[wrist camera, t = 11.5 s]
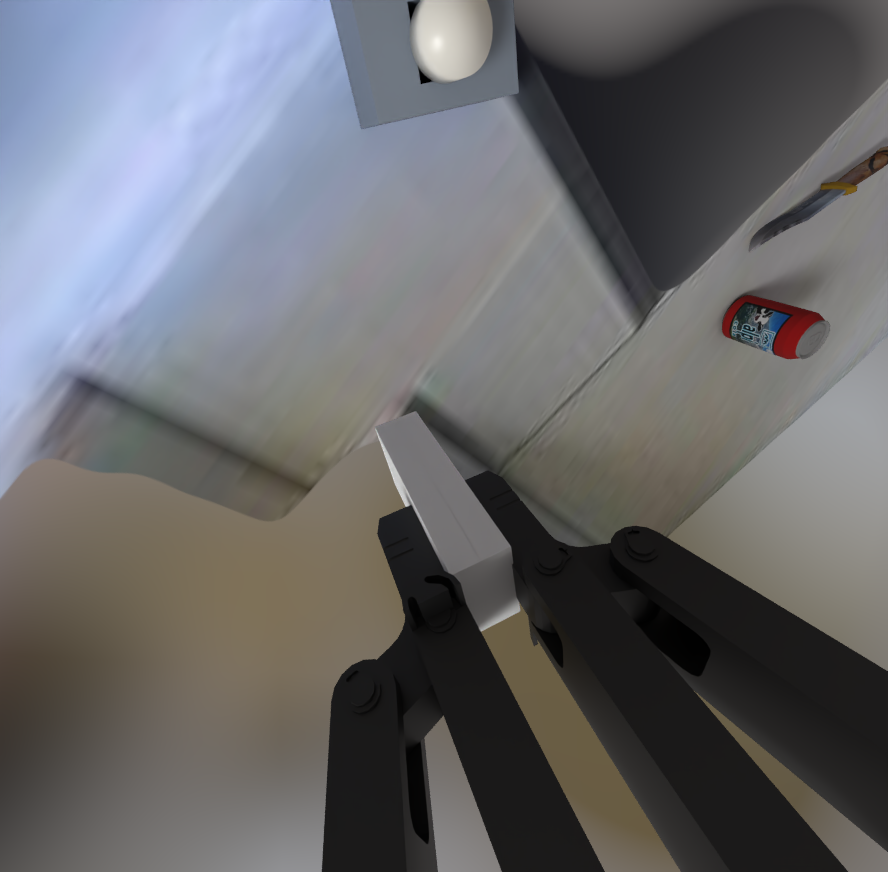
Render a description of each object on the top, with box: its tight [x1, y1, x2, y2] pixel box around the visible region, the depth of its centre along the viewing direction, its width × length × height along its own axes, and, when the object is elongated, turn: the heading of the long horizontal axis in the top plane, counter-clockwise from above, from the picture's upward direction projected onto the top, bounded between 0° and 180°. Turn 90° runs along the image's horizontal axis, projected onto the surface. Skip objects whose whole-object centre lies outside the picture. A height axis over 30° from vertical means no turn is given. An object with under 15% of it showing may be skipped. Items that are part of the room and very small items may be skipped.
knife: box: [749, 146, 888, 252], centre depth 58 cm, size 25×1×5 cm, turn 120°
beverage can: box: [722, 295, 830, 359], centre depth 62 cm, size 7×7×12 cm
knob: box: [410, 0, 493, 84], centre depth 31 cm, size 5×5×8 cm
